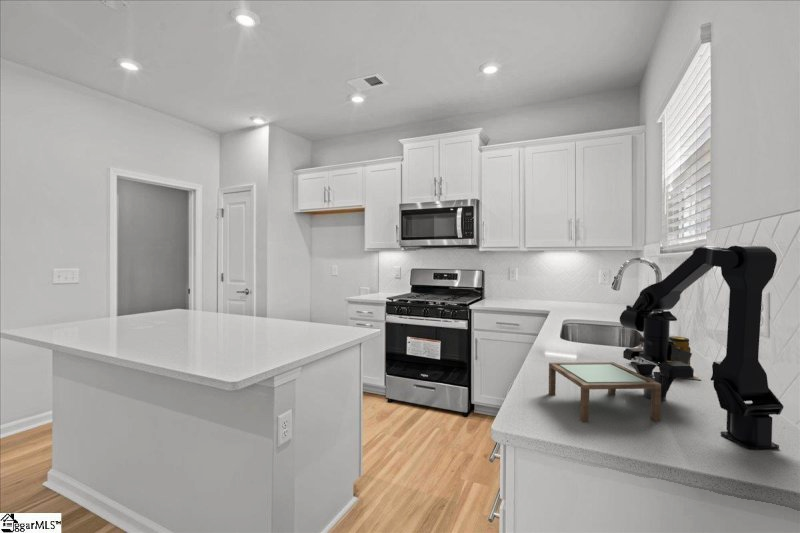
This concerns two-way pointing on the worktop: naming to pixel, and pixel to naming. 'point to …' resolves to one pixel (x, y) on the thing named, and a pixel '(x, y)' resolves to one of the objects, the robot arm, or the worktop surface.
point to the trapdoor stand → (606, 387)
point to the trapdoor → (601, 373)
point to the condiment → (682, 348)
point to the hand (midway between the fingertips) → (654, 393)
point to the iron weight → (648, 391)
